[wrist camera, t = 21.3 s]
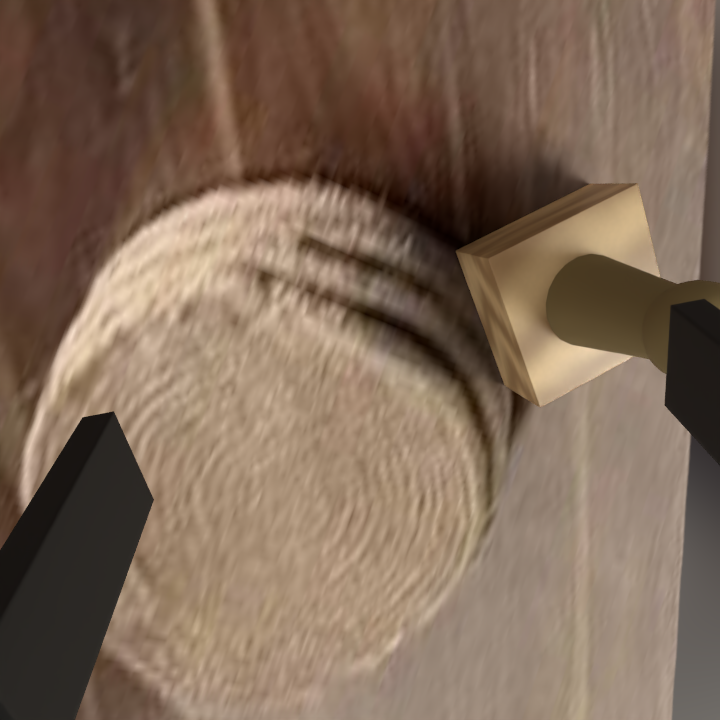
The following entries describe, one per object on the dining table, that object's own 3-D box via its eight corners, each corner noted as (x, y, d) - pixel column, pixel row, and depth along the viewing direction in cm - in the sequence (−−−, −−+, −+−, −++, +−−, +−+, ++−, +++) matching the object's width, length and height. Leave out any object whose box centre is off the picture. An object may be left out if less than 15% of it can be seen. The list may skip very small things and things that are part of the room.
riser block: (454, 250, 42) (487, 258, 37) (589, 183, 43) (638, 183, 39) (504, 385, 46) (540, 407, 41) (627, 320, 47) (675, 334, 43)
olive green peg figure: (583, 234, 39) (725, 251, 29) (643, 286, 41) (795, 319, 31) (528, 315, 39) (648, 360, 29) (590, 362, 41) (723, 419, 31)
